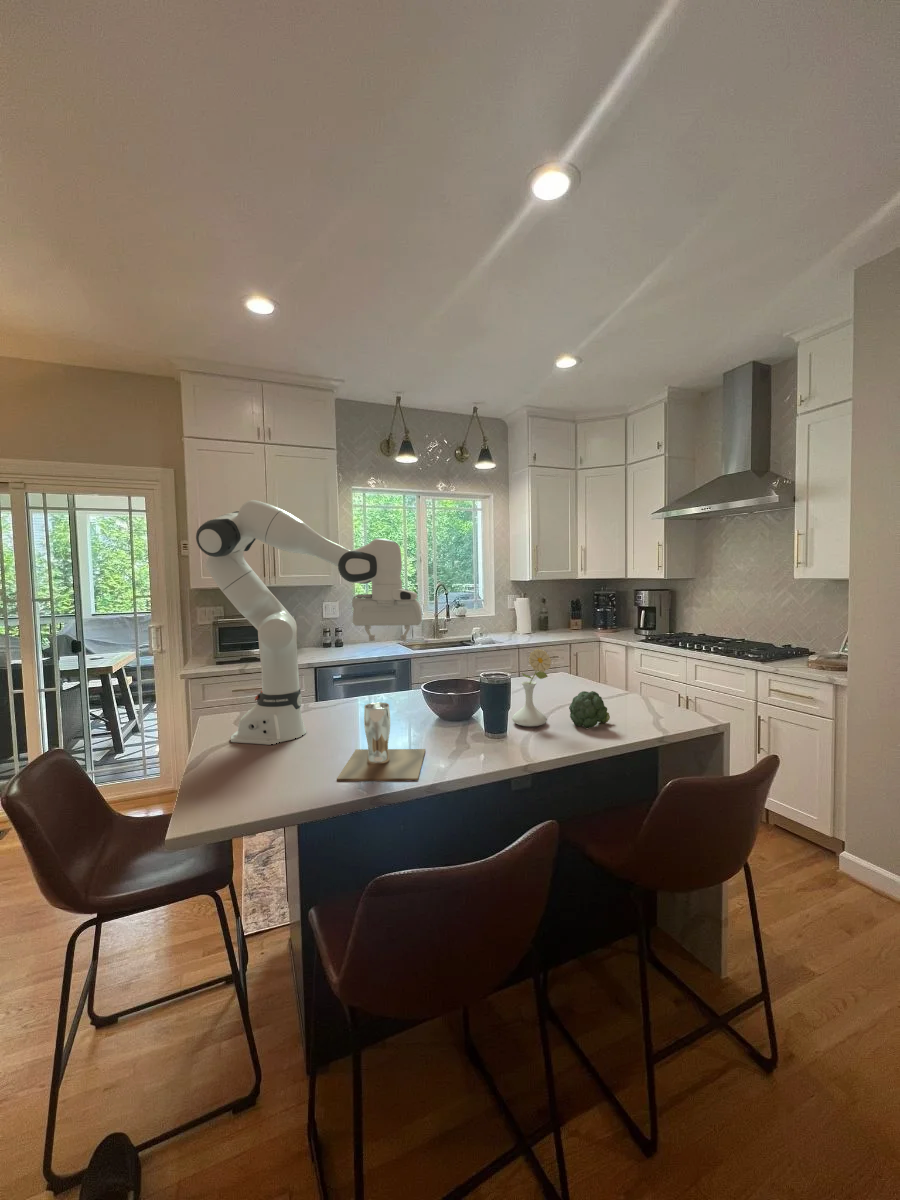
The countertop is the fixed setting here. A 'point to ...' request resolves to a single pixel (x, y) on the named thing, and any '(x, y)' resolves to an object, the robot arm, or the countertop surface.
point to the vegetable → (588, 709)
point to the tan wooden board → (384, 766)
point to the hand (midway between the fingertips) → (387, 640)
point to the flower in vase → (529, 712)
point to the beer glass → (377, 732)
